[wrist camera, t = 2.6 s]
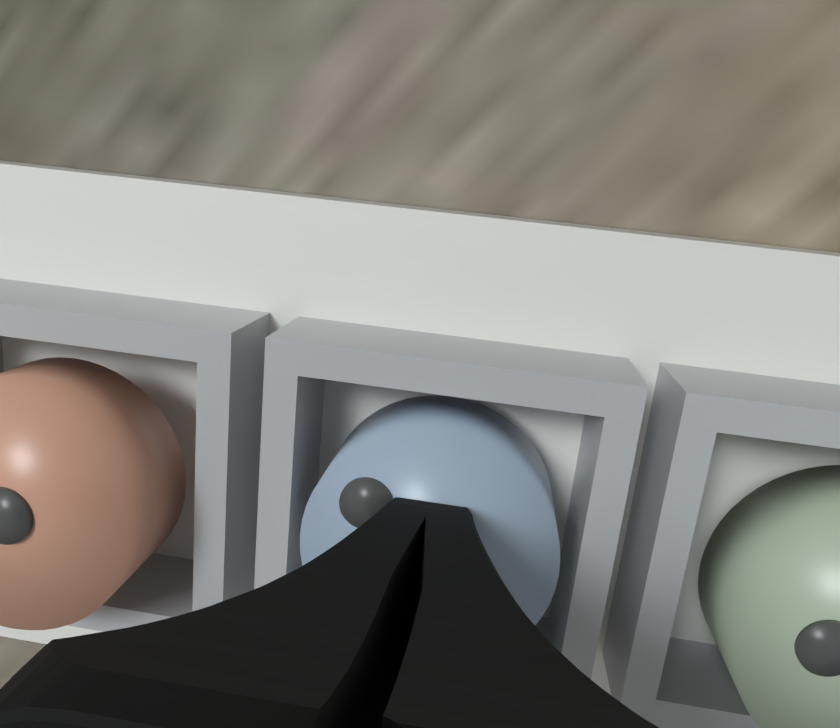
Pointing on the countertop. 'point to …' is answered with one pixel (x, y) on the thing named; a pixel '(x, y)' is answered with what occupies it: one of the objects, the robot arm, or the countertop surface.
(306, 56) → the countertop surface
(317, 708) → the robot arm
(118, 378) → the terracotta one pip button
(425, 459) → the slate three pip button
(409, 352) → the button panel
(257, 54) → the countertop surface
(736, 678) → the sage two pip button
